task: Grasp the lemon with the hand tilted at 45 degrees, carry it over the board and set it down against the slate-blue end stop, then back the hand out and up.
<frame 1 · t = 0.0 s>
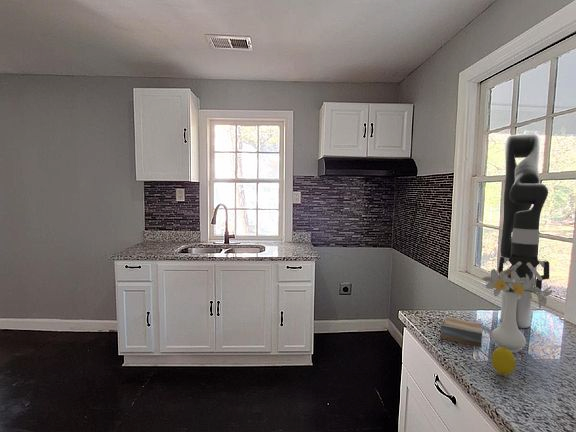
hand: (521, 288, 114), 17 cm above the worktop, tool pointing down, fingers open, 8 cm apart
flower vase: (510, 349, 106), on the worktop
stop board: (461, 332, 118), on the worktop
lemon: (502, 375, 91), on the worktop
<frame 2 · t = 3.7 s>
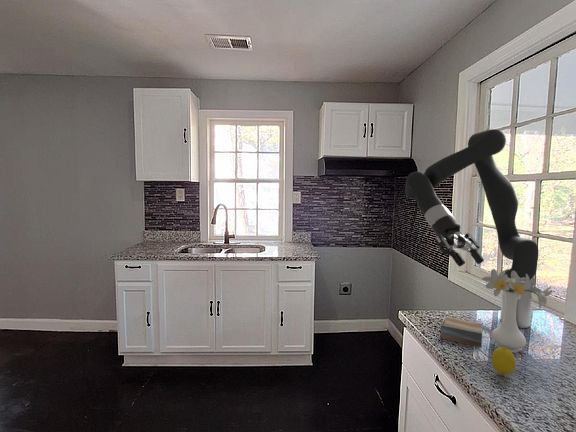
hand: (471, 263, 99), 29 cm above the worktop, tool tilted 45°, fingers open, 8 cm apart
nothing on the worktop moved.
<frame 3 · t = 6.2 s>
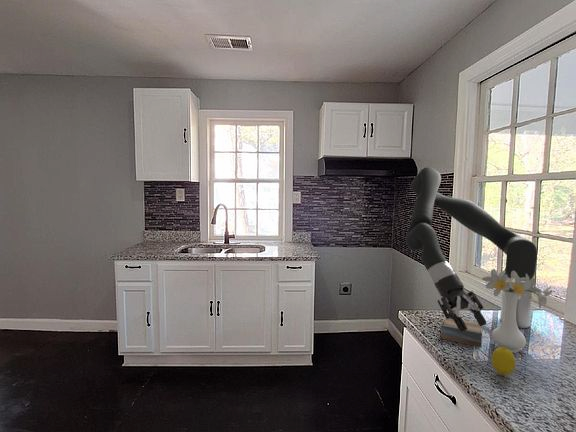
hand: (474, 327, 98), 10 cm above the worktop, tool tilted 40°, fingers open, 8 cm apart
nothing on the worktop moved.
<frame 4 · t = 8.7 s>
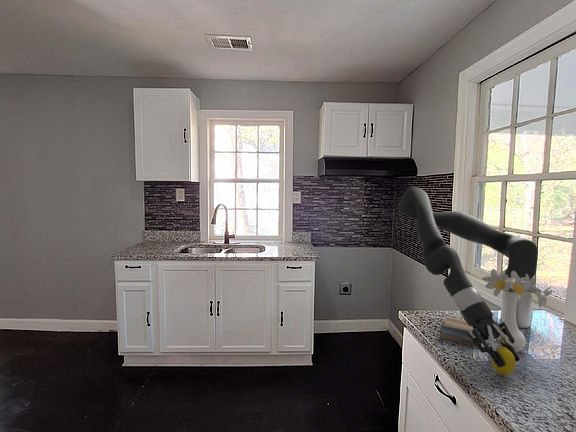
hand: (509, 363, 89), 4 cm above the worktop, tool tilted 45°, fingers closed on lemon, 5 cm apart
lemon: (502, 375, 91), on the worktop, touching gripper
everything else where it was.
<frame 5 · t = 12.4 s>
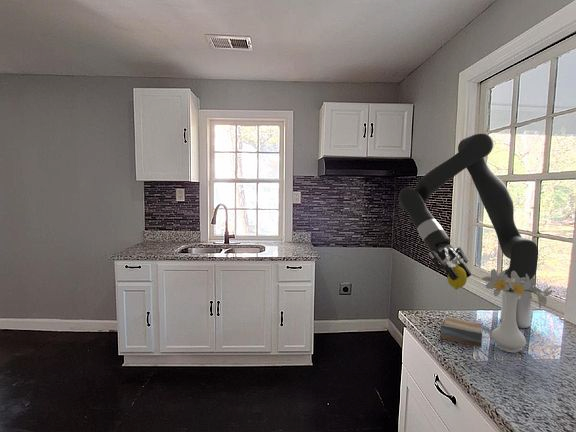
hand: (462, 277, 105), 23 cm above the worktop, tool tilted 45°, fingers closed on lemon, 5 cm apart
lemon: (456, 290, 107), point 18 cm above the worktop, touching gripper
everything else where it was.
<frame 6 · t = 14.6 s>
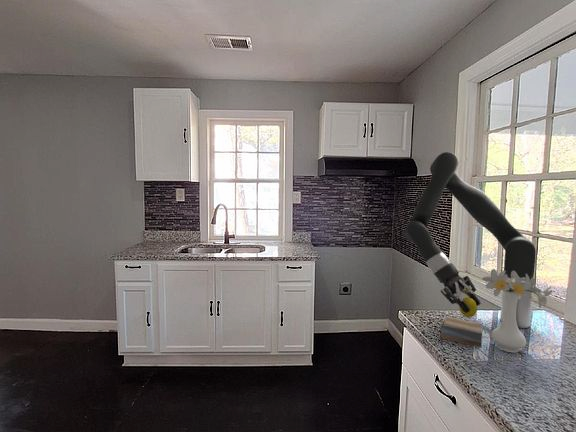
hand: (473, 308, 116), 10 cm above the worktop, tool tilted 40°, fingers closed on lemon, 5 cm apart
lemon: (468, 317, 119), point 5 cm above the worktop, touching gripper
everything else where it was.
when the fingers open (7 cm above the worktop, at t = 16.2 s): lemon drops 1 cm, resting on stop board.
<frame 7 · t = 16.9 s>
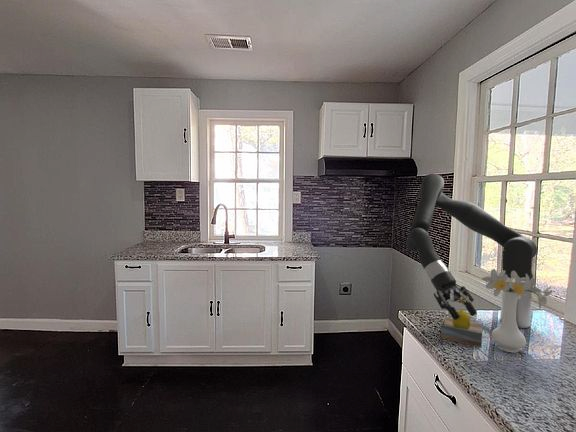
hand: (466, 316, 113), 8 cm above the worktop, tool tilted 45°, fingers open, 8 cm apart
lemon: (460, 332, 115), point 1 cm above the worktop, touching stop board
everything else where it was.
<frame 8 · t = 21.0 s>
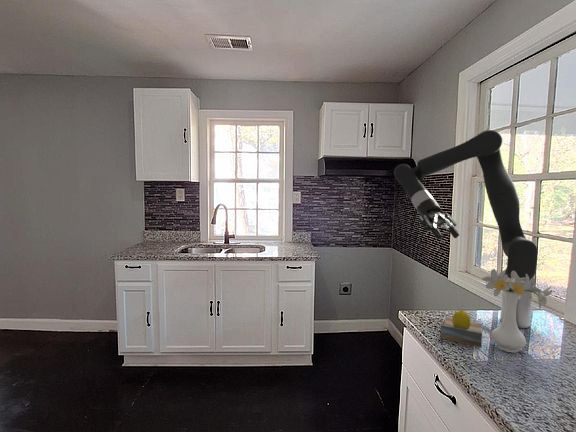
hand: (448, 237, 119), 34 cm above the worktop, tool tilted 45°, fingers open, 8 cm apart
nothing on the worktop moved.
at the end: lemon inside the target area on the stop board (0.3 cm from its centre), point 1.3 cm above the stop board's base; the gripper is holding nothing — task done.
